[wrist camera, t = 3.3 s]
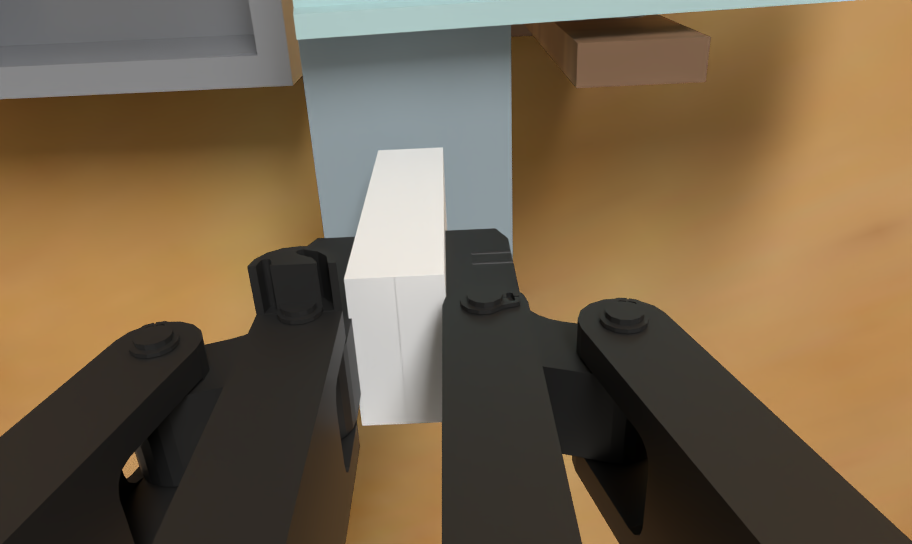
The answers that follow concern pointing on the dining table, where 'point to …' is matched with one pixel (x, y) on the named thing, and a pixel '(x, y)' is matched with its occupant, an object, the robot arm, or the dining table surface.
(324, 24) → the teal pedestal platform
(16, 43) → the bin
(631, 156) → the dining table surface
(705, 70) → the trunnion stand
